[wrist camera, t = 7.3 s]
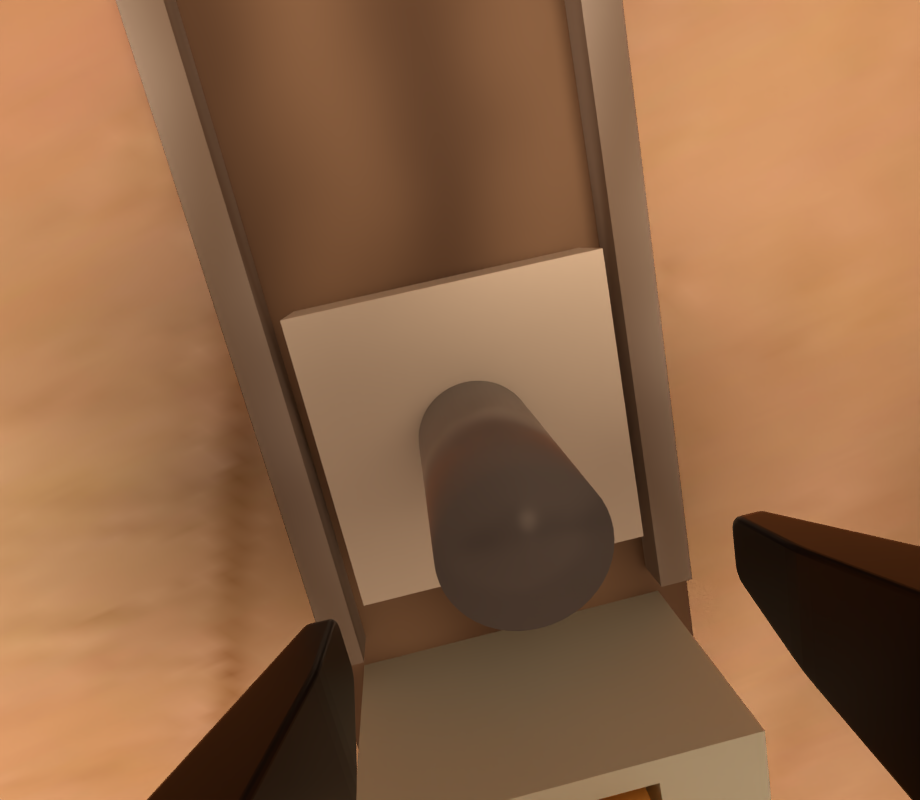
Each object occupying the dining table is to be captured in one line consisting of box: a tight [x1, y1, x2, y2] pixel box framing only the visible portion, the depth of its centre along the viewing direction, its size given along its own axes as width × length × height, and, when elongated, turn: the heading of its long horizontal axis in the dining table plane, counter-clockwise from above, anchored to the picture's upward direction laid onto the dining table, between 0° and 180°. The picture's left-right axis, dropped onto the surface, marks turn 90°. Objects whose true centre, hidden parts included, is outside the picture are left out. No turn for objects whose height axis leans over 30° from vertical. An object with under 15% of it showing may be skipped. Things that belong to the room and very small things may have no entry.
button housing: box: [356, 591, 771, 800], centre depth 18 cm, size 10×6×6 cm, turn 103°
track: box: [116, 0, 693, 749], centre depth 18 cm, size 12×27×3 cm, turn 13°
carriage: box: [280, 248, 643, 631], centre depth 14 cm, size 8×8×8 cm
